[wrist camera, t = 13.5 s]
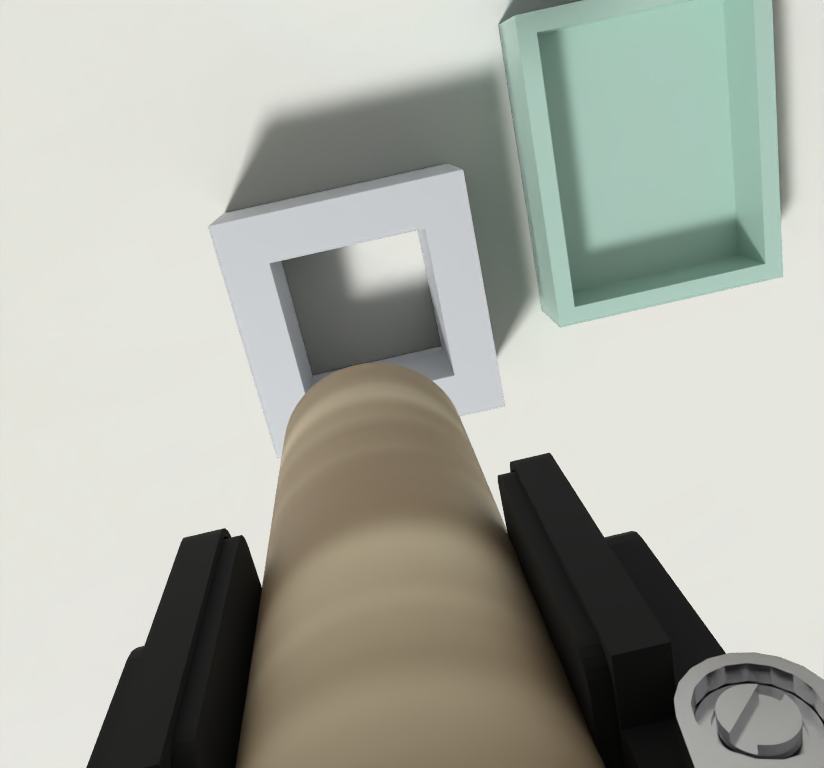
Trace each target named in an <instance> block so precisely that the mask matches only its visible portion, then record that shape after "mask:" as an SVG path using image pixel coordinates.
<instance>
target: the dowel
mask: <svg viewBox="0 0 824 768" xmlns="http://www.w3.org/2000/svg"><path fill="white" fill-rule="evenodd" d="M235 768H606V767H605V765H604V763H603V760H602V758H601V756H600V754H599V753H598V750H597V748H596V745H595V743H594V741H593V738H592V736H591V733H590V731H589V728H588V726H587V724H586V721H585V719H584V716H583V714H582V712H581V709H580V707H579V704H578V702H577V700H576V697H575V695H574V692H573V690H572V688H571V685H570V683H569V680H568V678H567V675H566V673H565V671H564V668H563V666H562V663H561V661H560V659H559V656H558V654H557V651H556V649H555V647H554V644H553V642H552V639H551V637H550V634H549V632H548V630H547V627H546V625H545V622H544V620H543V618H542V615H541V613H540V610H539V608H538V606H537V603H536V601H535V598H534V596H533V594H532V591H531V589H530V586H529V584H528V581H527V579H526V577H525V574H524V572H523V569H522V567H521V565H520V562H519V560H518V557H517V555H516V553H515V550H514V548H513V545H512V543H511V540H510V538H509V536H508V532H507V530H506V527H505V525H504V522H503V520H502V518H501V515H500V513H499V510H498V508H497V506H496V503H495V501H494V498H493V496H492V494H491V491H490V489H489V486H488V484H487V482H486V479H485V477H484V474H483V472H482V470H481V467H480V465H479V462H478V460H477V458H476V455H475V453H474V450H473V448H472V446H471V443H470V441H469V438H468V436H467V434H466V431H465V429H464V426H463V424H462V422H461V419H460V417H459V415H458V412H457V410H456V408H455V406H454V405H453V403H452V401H451V400H450V398H449V397H448V396H447V395H446V393H445V392H444V391H443V390H442V389H441V388H440V387H439V386H438V385H437V384H436V383H434V382H433V381H432V380H430V379H429V378H427V377H426V376H424V375H422V374H420V373H418V372H416V371H414V370H412V369H409V368H406V367H403V366H399V365H394V364H388V363H365V364H359V365H353V366H350V367H347V368H343V369H341V370H338V371H336V372H334V373H332V374H330V375H328V376H327V377H325V378H323V379H322V380H320V381H319V382H318V383H316V384H315V385H314V386H313V387H311V388H310V389H309V390H308V391H307V392H306V394H305V395H304V396H303V397H302V398H301V400H300V401H299V402H298V404H297V405H296V407H295V409H294V410H293V412H292V414H291V416H290V419H289V422H288V424H287V428H286V432H285V437H284V444H283V451H282V457H281V464H280V471H279V477H278V484H277V491H276V498H275V504H274V511H273V518H272V525H271V531H270V538H269V545H268V551H267V558H266V565H265V572H264V578H263V585H262V592H261V598H260V605H259V612H258V619H257V625H256V632H255V639H254V645H253V652H252V659H251V666H250V672H249V679H248V686H247V693H246V699H245V706H244V713H243V719H242V726H241V733H240V740H239V746H238V753H237V760H236V766H235Z"/></svg>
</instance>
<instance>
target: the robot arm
mask: <svg viewBox="0 0 824 768" xmlns="http://www.w3.org/2000/svg"><path fill="white" fill-rule="evenodd" d="M510 472H511V473H506V474H502V475H498V484H499V490H500V495H501V501H502V506H503V511H504V517H505V522H506V527H507V532H508V536H509V538H510V540H511V543H512V545H513V548H514V550H515V553H516V555H517V557H518V560H519V562H520V565H521V567H522V569H523V572H524V574H525V577H526V579H527V581H528V584H529V586H530V589H531V591H532V594H533V596H534V598H535V601H536V603H537V606H538V608H539V610H540V613H541V615H542V618H543V620H544V622H545V625H546V627H547V630H548V632H549V634H550V637H551V639H552V642H553V644H554V647H555V649H556V651H557V654H558V656H559V659H560V661H561V663H562V666H563V668H564V671H565V673H566V675H567V678H568V680H569V683H570V685H571V688H572V690H573V692H574V695H575V697H576V700H577V702H578V704H579V707H580V709H581V712H582V714H583V716H584V719H585V721H586V724H587V726H588V728H589V731H590V733H591V736H592V738H593V741H594V743H595V745H596V748H597V750H598V753H599V754H600V756H601V758H602V760H603V763H604V765H605V767H606V768H824V680H823V679H822V678H820V677H819V676H817V675H816V674H814V673H813V672H811V671H810V670H808V669H807V668H805V667H804V666H801V665H799V664H796V663H794V662H791V661H789V660H786V659H783V658H781V657H777V656H771V655H766V654H760V653H754V652H753V653H728V654H726V653H725V652H724V650H723V649H722V647H721V646H720V645H719V643H718V642H717V641H716V639H715V638H714V636H713V635H712V634H711V632H710V631H709V630H708V628H707V627H706V625H705V624H704V623H703V621H702V620H701V619H700V617H699V616H698V614H697V613H696V612H695V610H694V609H693V608H692V606H691V605H690V603H689V602H688V601H687V599H686V598H685V596H684V595H683V594H682V592H681V591H680V590H679V588H678V587H677V585H676V584H675V583H674V581H673V580H672V579H671V577H670V576H669V574H668V573H667V572H666V570H665V569H664V568H663V566H662V565H661V563H660V562H659V561H658V559H657V558H656V557H655V555H654V554H653V552H652V551H651V550H650V548H649V547H648V546H647V544H646V543H645V541H644V540H643V539H642V537H641V536H640V535H639V534H638V533H637V532H634V531H630V532H626V533H622V534H617V535H613V536H609V537H605V538H604V536H603V535H602V533H601V532H600V530H599V529H598V527H597V525H596V524H595V522H594V521H593V519H592V518H591V516H590V514H589V513H588V511H587V510H586V508H585V507H584V505H583V503H582V502H581V500H580V499H579V497H578V496H577V494H576V492H575V491H574V489H573V488H572V486H571V485H570V483H569V481H568V480H567V478H566V477H565V475H564V474H563V472H562V470H561V469H560V467H559V466H558V464H557V463H556V461H555V460H554V458H553V456H552V455H551V454H550V453H546V454H542V455H538V456H533V457H529V458H525V459H521V460H516V461H512V462H510ZM261 592H262V587H261V584H260V581H259V578H258V575H257V572H256V569H255V566H254V563H253V560H252V557H251V554H250V551H249V547H248V545H247V542H246V540H245V538H244V537H243V536H242V535H240V536H236V537H232V538H231V535H230V534H229V532H228V530H226V529H225V528H224V529H220V530H215V531H211V532H207V533H203V534H198V535H194V536H190V537H186V538H183V540H182V542H181V544H180V547H179V550H178V553H177V555H176V558H175V561H174V564H173V567H172V570H171V572H170V575H169V578H168V581H167V584H166V587H165V589H164V592H163V595H162V598H161V601H160V604H159V606H158V609H157V612H156V615H155V618H154V620H153V623H152V626H151V629H150V632H149V635H148V637H147V640H146V643H145V646H142V647H138V648H136V649H134V650H133V651H132V652H131V654H130V655H129V657H128V659H127V661H126V664H125V667H124V669H123V672H122V675H121V677H120V680H119V683H118V685H117V688H116V690H115V693H114V696H113V698H112V701H111V704H110V706H109V709H108V712H107V714H106V717H105V720H104V722H103V725H102V728H101V730H100V733H99V736H98V738H97V741H96V744H95V746H94V749H93V752H92V754H91V757H90V760H89V762H88V765H87V768H235V766H236V760H237V753H238V746H239V740H240V733H241V726H242V719H243V713H244V706H245V699H246V693H247V686H248V679H249V672H250V666H251V659H252V652H253V645H254V639H255V632H256V625H257V619H258V612H259V605H260V598H261Z"/></svg>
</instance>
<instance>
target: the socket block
mask: <svg viewBox="0 0 824 768" xmlns="http://www.w3.org/2000/svg"><path fill="white" fill-rule="evenodd" d="M208 228H209V231H210V235H211V238H212V241H213V245H214V248H215V251H216V255H217V258H218V261H219V265H220V268H221V272H222V275H223V278H224V282H225V285H226V288H227V292H228V295H229V298H230V302H231V305H232V309H233V312H234V315H235V319H236V322H237V325H238V329H239V332H240V335H241V339H242V342H243V345H244V349H245V352H246V356H247V359H248V362H249V366H250V369H251V372H252V376H253V379H254V382H255V386H256V389H257V392H258V396H259V399H260V403H261V406H262V409H263V413H264V416H265V419H266V423H267V426H268V429H269V433H270V436H271V439H272V443H273V446H274V450H275V453H276V456H277V458H281V457H282V451H283V444H284V437H285V432H286V428H287V424H288V422H289V419H290V416H291V414H292V412H293V410H294V409H295V407H296V405H297V404H298V402H299V401H300V400H301V398H302V397H303V396H304V395H305V394H306V392H307V391H308V390H309V389H310V388H311V387H313V386H314V385H315V384H316V383H318V382H319V381H320V380H322V379H323V378H325V377H327V376H328V375H330V374H332V373H334V372H336V371H338V370H334V371H330V372H326V373H321V374H317V375H313V376H312V372H311V368H310V365H309V361H308V357H307V353H306V350H305V346H304V342H303V338H302V335H301V331H300V327H299V324H298V320H297V316H296V312H295V309H294V305H293V301H292V298H291V294H290V290H289V286H288V283H287V279H286V275H285V272H284V268H283V264H282V260H287V259H291V258H296V257H300V256H305V255H309V254H314V253H318V252H323V251H327V250H331V249H336V248H340V247H345V246H349V245H354V244H358V243H363V242H367V241H372V240H376V239H380V238H385V237H389V236H394V235H398V234H403V233H407V232H412V231H416V230H418V234H419V239H420V244H421V249H422V254H423V259H424V264H425V268H426V273H427V278H428V283H429V288H430V293H431V298H432V303H433V308H434V313H435V318H436V322H437V327H438V332H439V337H440V342H441V346H440V347H436V348H431V349H427V350H422V351H418V352H414V353H409V354H405V355H400V356H396V357H392V358H387V359H383V360H378V361H374V362H370V363H388V364H394V365H399V366H403V367H406V368H409V369H412V370H414V371H416V372H418V373H420V374H422V375H424V376H426V377H427V378H429V379H430V380H432V381H433V382H434V383H436V384H437V385H438V386H439V387H440V388H441V389H442V390H443V391H444V392H445V393H446V395H447V396H448V397H449V398H450V400H451V401H452V403H453V405H454V406H455V408H456V410H457V412H458V415H459V417H460V416H464V415H469V414H473V413H477V412H482V411H486V410H491V409H495V408H499V407H504V406H505V402H504V396H503V390H502V385H501V379H500V374H499V368H498V362H497V357H496V351H495V345H494V340H493V334H492V329H491V323H490V317H489V312H488V306H487V301H486V295H485V289H484V284H483V278H482V272H481V267H480V261H479V256H478V250H477V244H476V239H475V233H474V228H473V222H472V216H471V211H470V205H469V199H468V194H467V188H466V183H465V177H464V171H463V169H461V168H458V167H456V166H453V165H451V164H448V163H447V164H442V165H438V166H433V167H429V168H424V169H420V170H415V171H411V172H406V173H402V174H397V175H393V176H388V177H384V178H379V179H375V180H371V181H366V182H362V183H357V184H353V185H348V186H344V187H339V188H335V189H330V190H326V191H321V192H317V193H312V194H308V195H303V196H299V197H294V198H290V199H285V200H281V201H276V202H272V203H267V204H263V205H258V206H254V207H249V208H245V209H241V210H236V211H232V212H227V213H224V214H223V215H221V216H220V217H219V218H218V219H217V220H215V221H214V222H213V223H212V224H210V225H209V226H208ZM339 370H341V369H339Z"/></svg>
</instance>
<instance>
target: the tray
mask: <svg viewBox="0 0 824 768" xmlns="http://www.w3.org/2000/svg"><path fill="white" fill-rule="evenodd" d="M498 26H499V33H500V39H501V46H502V52H503V59H504V65H505V72H506V78H507V85H508V91H509V98H510V105H511V111H512V118H513V124H514V131H515V137H516V144H517V150H518V157H519V163H520V170H521V177H522V183H523V190H524V196H525V203H526V209H527V216H528V222H529V229H530V235H531V242H532V249H533V255H534V262H535V268H536V275H537V281H538V288H539V294H540V301H541V307H542V311H543V312H544V313H545V314H546V315H547V316H548V317H550V318H551V319H552V320H553V321H554V322H555V323H556V324H557V325H558V326H559V327H564V326H569V325H573V324H577V323H582V322H586V321H591V320H595V319H599V318H604V317H608V316H613V315H617V314H621V313H626V312H630V311H635V310H639V309H643V308H648V307H652V306H657V305H661V304H665V303H670V302H674V301H679V300H683V299H687V298H692V297H696V296H701V295H705V294H709V293H714V292H718V291H723V290H727V289H731V288H736V287H740V286H745V285H749V284H753V283H758V282H762V281H766V280H771V279H775V278H780V277H783V264H782V238H781V213H780V187H779V162H778V136H777V110H776V85H775V59H774V34H773V8H772V0H582V1H577V2H573V3H568V4H564V5H559V6H555V7H550V8H545V9H541V10H536V11H532V12H527V13H523V14H518V15H514V16H513V17H511V18H509V19H507V20H506V21H504V22H502V23H501V24H499V25H498Z"/></svg>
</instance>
